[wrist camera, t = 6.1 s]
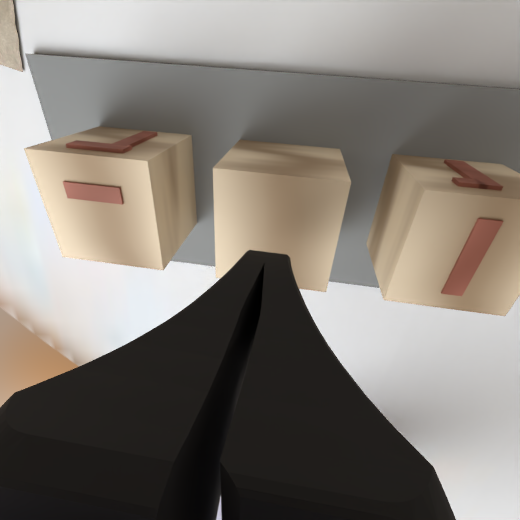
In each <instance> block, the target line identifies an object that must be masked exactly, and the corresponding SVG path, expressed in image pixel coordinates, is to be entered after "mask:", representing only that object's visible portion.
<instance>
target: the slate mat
mask: <svg viewBox="0 0 520 520" xmlns="http://www.w3.org/2000/svg"><path fill="white" fill-rule="evenodd" d="M26 58H27V61H28V64H29V67H30V71H31V74H32V77H33V81H34V84H35V87H36V90H37V94H38V97H39V100H40V103H41V107H42V110H43V113H44V117H45V120H46V123H47V126H48V130H49V133H50V136H51V139H52V140H55V139H58V138H61V137H65V136H68V135H72V134H75V133H78V132H82V131H85V130H89V129H92V128H95V127H99V126H101V127H111V128H122V129H133V130H144V131H155V132H165V133H176V134H187V135H192V151H193V166H194V182H195V198H196V214H197V224H196V225H195V227H194V228H193V230H192V231H191V232H190V234H189V235H188V237H187V238H186V239H185V241H184V242H183V243H182V245H181V246H180V248H179V249H178V250H177V252H176V253H175V255H174V256H173V257H172V259H171V260H170V261H177V262H185V263H193V264H200V265H208V266H216V265H215V230H214V194H213V167H214V166H215V165H216V164H217V163H218V162H219V161H220V160H221V159H222V158H223V157H224V156H225V155H226V153H227V152H228V151H229V150H230V149H231V148H232V147H233V146H234V145H235V144H236V143H237V142H238V141H239V140H249V141H260V142H271V143H282V144H293V145H303V146H314V147H325V148H336V149H340V150H341V153H342V156H343V159H344V162H345V165H346V168H347V171H348V174H349V177H350V180H351V186H350V190H349V194H348V199H347V203H346V207H345V212H344V216H343V220H342V225H341V229H340V233H339V238H338V242H337V247H336V251H335V255H334V260H333V264H332V268H331V273H330V277H329V281H331V282H339V283H346V284H354V285H362V286H369V287H377V288H380V287H379V283H378V280H377V277H376V274H375V270H374V267H373V264H372V261H371V257H370V254H369V251H368V247H367V244H366V243H367V239H368V236H369V232H370V229H371V225H372V222H373V219H374V215H375V212H376V208H377V205H378V201H379V198H380V194H381V191H382V188H383V184H384V181H385V177H386V174H387V170H388V167H389V164H390V160H391V157H392V154H398V155H409V156H420V157H430V158H441V159H452V160H463V161H474V162H484V163H495V164H503V165H504V166H506V167H508V168H510V169H512V170H514V171H516V172H518V173H520V89H512V88H498V87H484V86H470V85H456V84H443V83H429V82H415V81H401V80H387V79H373V78H359V77H346V76H332V75H318V74H304V73H290V72H276V71H262V70H249V69H235V68H221V67H207V66H193V65H179V64H165V63H152V62H138V61H124V60H110V59H96V58H82V57H68V56H55V55H41V54H26Z"/></svg>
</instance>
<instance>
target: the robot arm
mask: <svg viewBox="0 0 520 520" xmlns="http://www.w3.org/2000/svg"><path fill="white" fill-rule="evenodd" d="M0 520H456V519H455V516H454V514H453V511H452V509H451V507H450V504H449V502H448V499H447V497H446V495H445V492H444V490H443V488H442V485H441V483H440V481H439V478H438V476H437V474H436V471H435V469H434V467H433V466H432V465H431V464H430V463H429V462H428V461H427V460H426V459H425V458H424V457H423V456H422V455H421V454H420V453H419V452H418V451H417V450H416V449H415V448H414V447H413V446H412V445H411V444H410V443H409V442H408V441H407V440H406V439H405V438H404V437H403V436H402V435H401V434H400V433H399V432H398V431H397V430H396V429H395V428H394V426H393V425H392V424H391V423H390V422H389V421H388V420H387V419H386V418H385V417H384V416H383V414H382V413H381V412H380V411H379V410H378V409H377V408H376V406H375V405H374V404H373V403H372V402H371V401H370V400H369V398H368V397H367V396H366V395H365V394H364V392H363V391H362V390H361V389H360V387H359V386H358V385H357V383H356V382H355V381H354V380H353V378H352V377H351V376H350V375H349V373H348V372H347V371H346V369H345V368H344V367H343V366H342V364H341V363H340V362H339V360H338V359H337V357H336V356H335V354H334V353H333V351H332V350H331V348H330V347H329V346H328V344H327V342H326V341H325V339H324V338H323V336H322V334H321V333H320V331H319V329H318V328H317V326H316V324H315V322H314V320H313V319H312V317H311V315H310V313H309V311H308V309H307V307H306V305H305V302H304V300H303V298H302V295H301V293H300V291H299V288H298V286H297V283H296V280H295V277H294V274H293V271H292V267H291V261H290V257H289V256H288V255H287V254H279V253H271V252H263V251H255V250H248V251H247V252H246V253H245V254H244V255H243V256H242V257H241V258H240V259H239V260H238V262H237V263H236V264H235V265H234V266H233V267H232V268H231V269H230V270H229V271H228V272H227V273H226V274H225V275H224V276H223V277H222V278H220V279H219V280H218V281H217V282H216V283H215V284H214V285H213V286H212V287H211V288H209V289H208V290H207V291H206V292H205V293H203V294H202V295H201V296H200V297H199V298H197V299H196V300H195V301H194V302H192V303H191V304H190V305H189V306H187V307H186V308H184V309H183V310H182V311H180V312H179V313H177V314H176V315H175V316H173V317H172V318H170V319H169V320H167V321H166V322H164V323H162V324H161V325H159V326H157V327H156V328H154V329H152V330H151V331H149V332H147V333H145V334H144V335H142V336H140V337H138V338H137V339H135V340H133V341H131V342H130V343H128V344H126V345H124V346H122V347H120V348H118V349H116V350H114V351H112V352H110V353H108V354H106V355H103V356H101V357H99V358H97V359H95V360H93V361H91V362H89V363H86V364H84V365H82V366H80V367H77V368H75V369H73V370H70V371H68V372H65V373H63V374H61V375H58V376H56V377H53V378H51V379H48V380H46V381H43V382H41V383H39V384H36V385H33V386H31V387H28V388H26V389H23V390H21V391H18V392H15V393H14V394H13V395H12V396H11V397H10V398H9V399H8V400H7V401H6V402H5V403H4V404H3V405H2V406H1V407H0Z"/></svg>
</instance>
